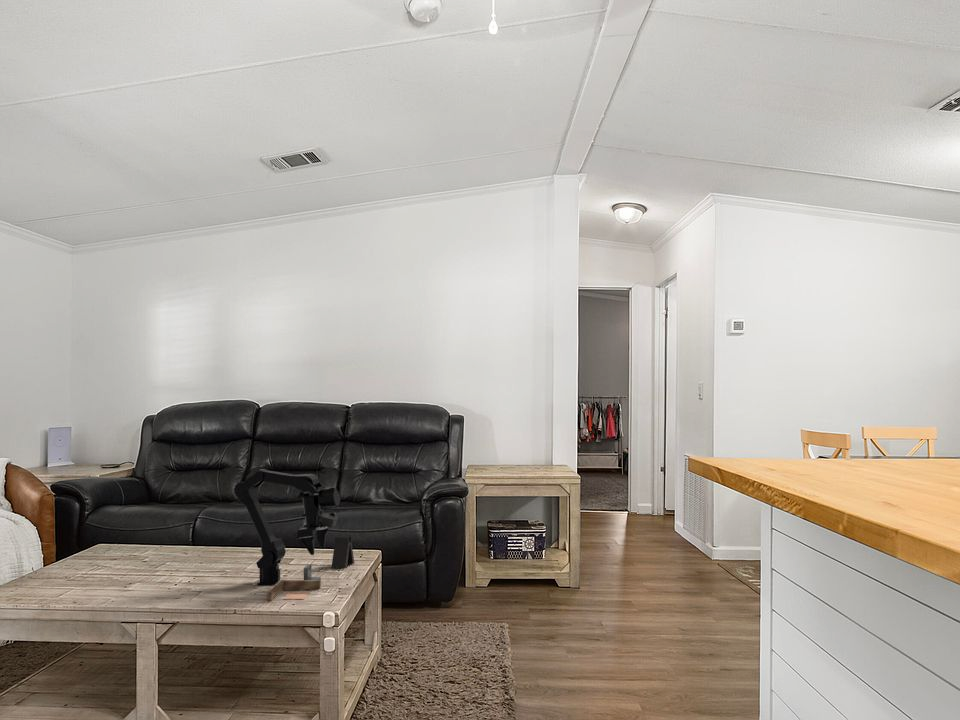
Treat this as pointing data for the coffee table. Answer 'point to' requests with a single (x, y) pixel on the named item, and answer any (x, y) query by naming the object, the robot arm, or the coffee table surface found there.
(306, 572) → the angle bracket
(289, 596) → the pad
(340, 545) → the phone stand
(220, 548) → the coffee table surface
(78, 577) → the coffee table surface
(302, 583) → the l-shaped wooden corner frame
